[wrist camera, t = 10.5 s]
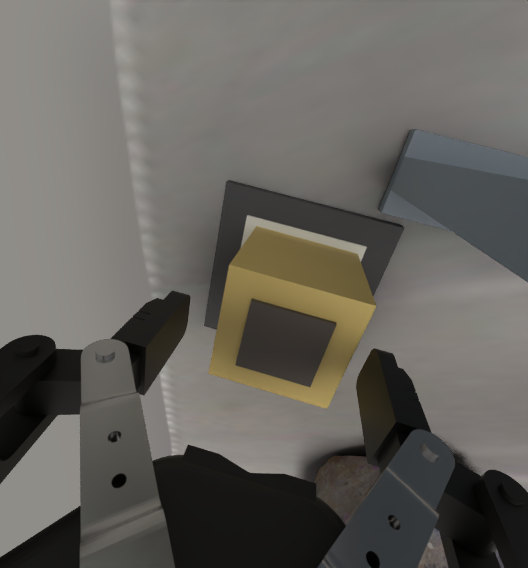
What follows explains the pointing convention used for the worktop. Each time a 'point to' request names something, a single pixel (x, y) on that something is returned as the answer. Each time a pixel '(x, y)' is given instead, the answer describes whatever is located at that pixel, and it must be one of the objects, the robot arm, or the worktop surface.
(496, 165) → the screen
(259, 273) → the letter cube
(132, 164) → the worktop surface
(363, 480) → the stone
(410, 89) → the worktop surface
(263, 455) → the worktop surface
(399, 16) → the worktop surface
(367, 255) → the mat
